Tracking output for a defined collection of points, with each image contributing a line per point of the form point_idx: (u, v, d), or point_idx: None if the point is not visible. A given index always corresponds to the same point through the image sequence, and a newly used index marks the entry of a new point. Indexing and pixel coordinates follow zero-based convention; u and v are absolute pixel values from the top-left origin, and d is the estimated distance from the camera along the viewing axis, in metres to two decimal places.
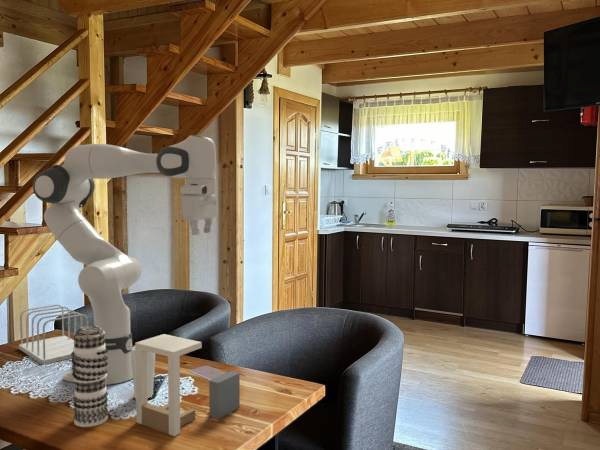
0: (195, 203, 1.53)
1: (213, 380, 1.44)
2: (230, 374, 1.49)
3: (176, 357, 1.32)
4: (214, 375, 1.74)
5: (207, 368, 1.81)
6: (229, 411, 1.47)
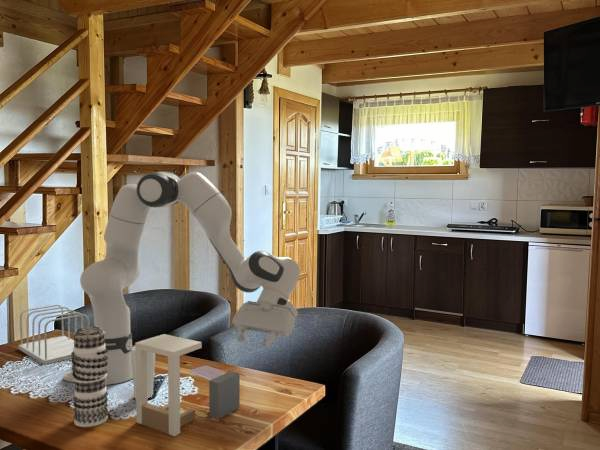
0: (294, 323, 1.58)
1: (213, 380, 1.44)
2: (230, 374, 1.49)
3: (176, 357, 1.32)
4: (214, 375, 1.74)
5: (207, 368, 1.81)
6: (229, 411, 1.47)
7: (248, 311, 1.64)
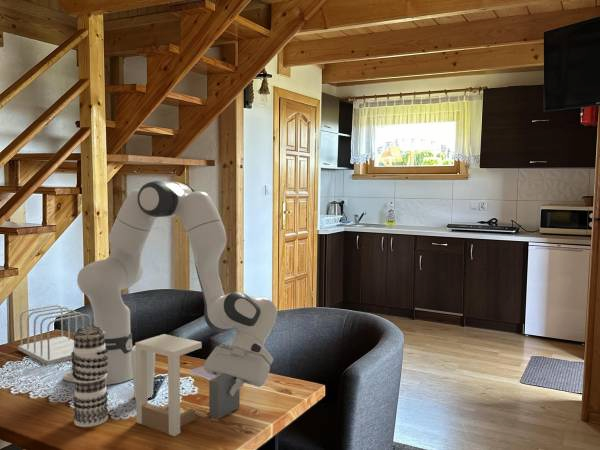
0: (268, 372, 1.48)
1: (213, 380, 1.44)
2: None
3: (176, 357, 1.32)
4: (214, 375, 1.74)
5: None
6: (229, 411, 1.47)
7: (220, 356, 1.54)
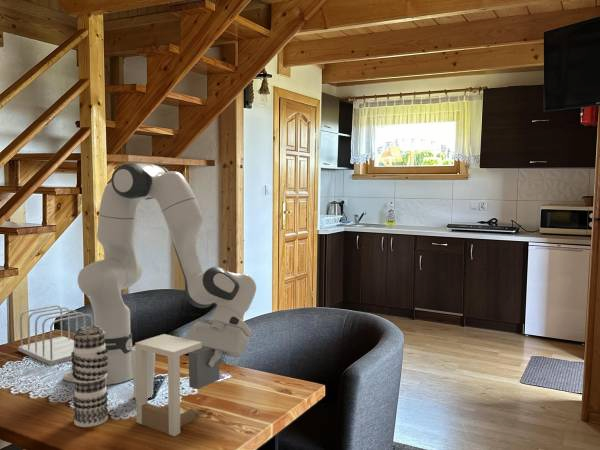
0: (246, 343, 1.52)
1: (192, 351, 1.48)
2: None
3: (176, 357, 1.32)
4: None
5: None
6: (209, 382, 1.50)
7: (200, 330, 1.58)
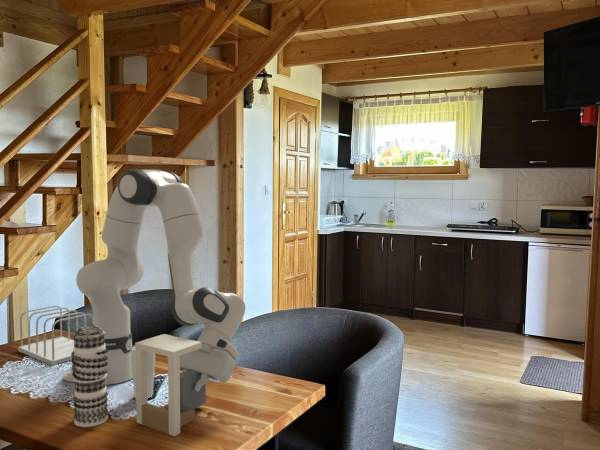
0: (234, 367, 1.48)
1: None
2: None
3: (176, 357, 1.32)
4: None
5: None
6: (194, 406, 1.47)
7: None
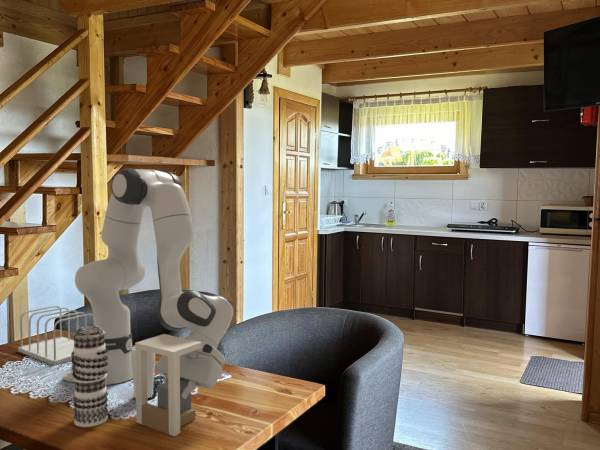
0: (220, 373, 1.43)
1: (161, 385, 1.39)
2: (181, 379, 1.44)
3: (176, 357, 1.32)
4: None
5: None
6: None
7: None
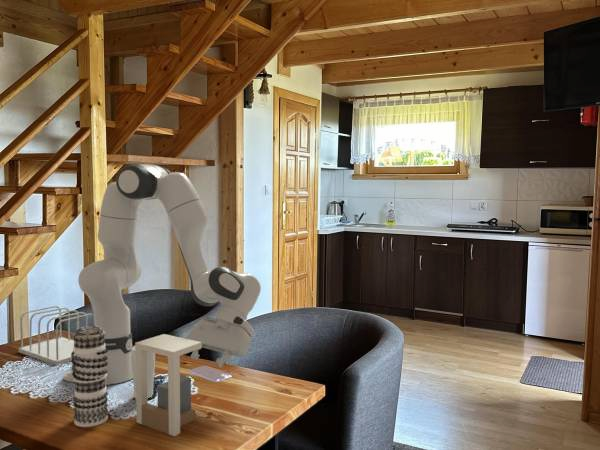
0: (249, 343, 1.55)
1: (161, 385, 1.39)
2: (181, 379, 1.44)
3: (176, 357, 1.32)
4: (213, 375, 1.74)
5: (206, 368, 1.81)
6: None
7: (204, 328, 1.60)
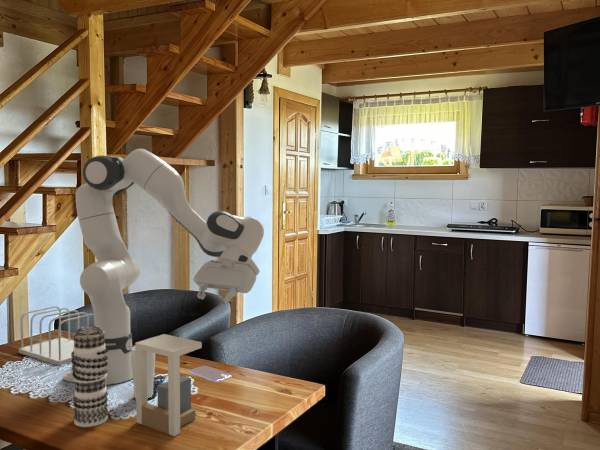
0: None
1: (161, 385, 1.39)
2: (181, 379, 1.44)
3: (176, 357, 1.32)
4: (213, 375, 1.74)
5: (205, 368, 1.81)
6: None
7: (209, 269, 1.62)
